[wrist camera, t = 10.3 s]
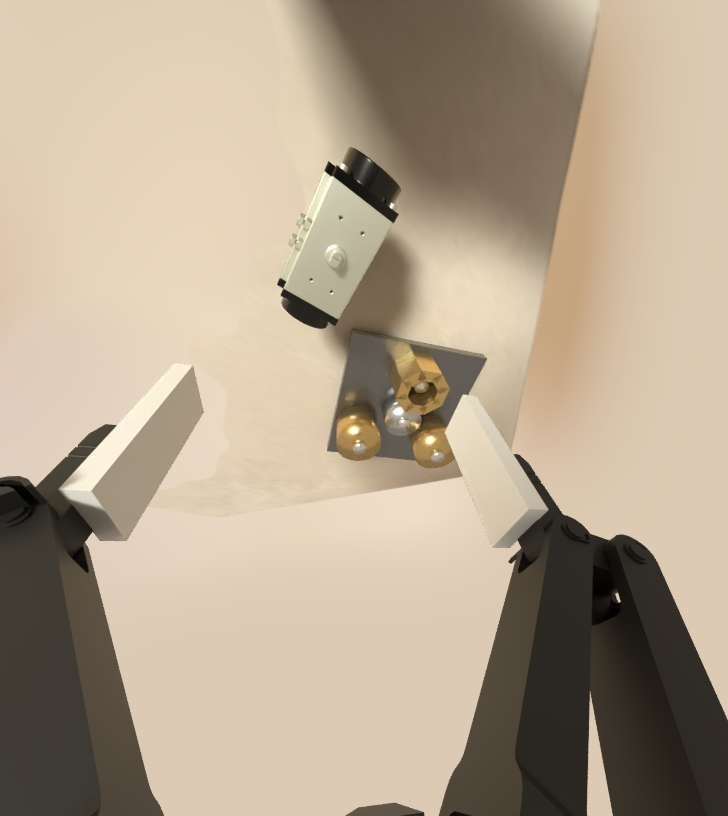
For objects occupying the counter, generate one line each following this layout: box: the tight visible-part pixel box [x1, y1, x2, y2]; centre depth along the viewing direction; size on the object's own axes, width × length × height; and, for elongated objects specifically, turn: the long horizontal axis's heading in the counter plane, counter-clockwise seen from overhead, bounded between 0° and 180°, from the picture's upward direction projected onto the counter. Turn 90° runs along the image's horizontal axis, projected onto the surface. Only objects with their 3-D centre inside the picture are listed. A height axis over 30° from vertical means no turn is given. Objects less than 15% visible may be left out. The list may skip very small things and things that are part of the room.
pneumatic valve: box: [277, 147, 401, 329], centre depth 24 cm, size 6×12×12 cm, turn 148°
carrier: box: [327, 329, 487, 468], centre depth 39 cm, size 20×18×7 cm
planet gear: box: [389, 351, 450, 415], centre depth 35 cm, size 6×6×5 cm
